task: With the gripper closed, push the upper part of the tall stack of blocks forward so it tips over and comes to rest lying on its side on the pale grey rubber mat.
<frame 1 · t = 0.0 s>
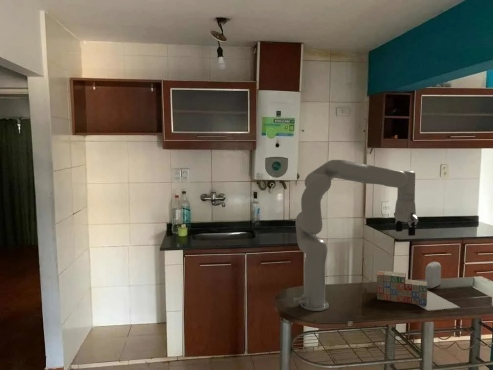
hand: (405, 233, 177), 31 cm above the table, tool pointing down, fingers open, 9 cm apart
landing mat: (424, 298, 178), on the table
stack of blocks: (401, 300, 175), on the table, touching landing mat
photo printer: (432, 286, 195), on the table
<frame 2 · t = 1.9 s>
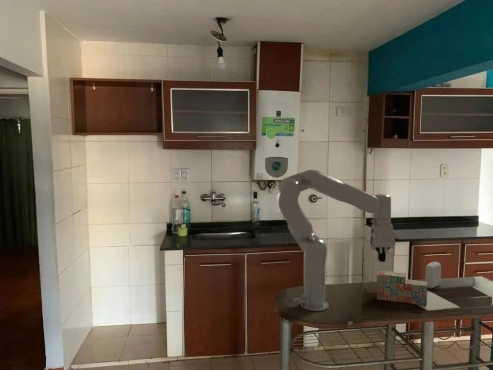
hand: (381, 261, 172), 20 cm above the table, tool pointing down, fingers closed
nothing on the table moved.
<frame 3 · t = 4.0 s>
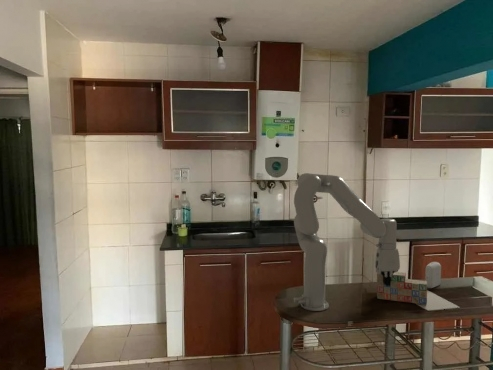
hand: (386, 284, 173), 8 cm above the table, tool pointing down, fingers closed
stack of blocks: (401, 300, 175), on the table, touching gripper, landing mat
everything else where it was.
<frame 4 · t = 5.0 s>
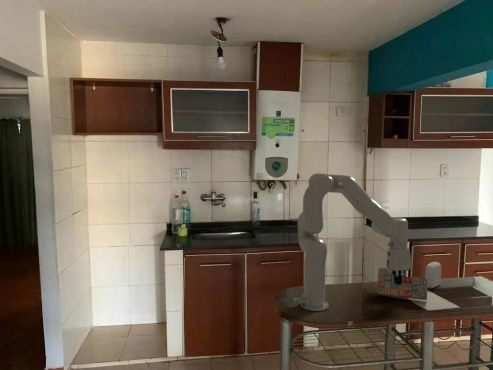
hand: (397, 283, 174), 8 cm above the table, tool pointing down, fingers closed
stack of blocks: (401, 297, 176), point 1 cm above the table, touching gripper, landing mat
everything else where it was.
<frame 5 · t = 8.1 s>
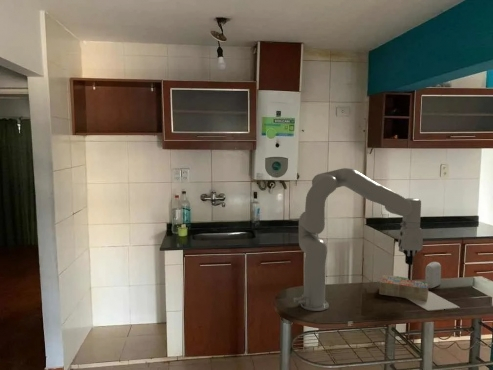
hand: (408, 263, 175), 17 cm above the table, tool pointing down, fingers closed
stack of blocks: (402, 291, 178), point 3 cm above the table, touching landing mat
everything else where it was.
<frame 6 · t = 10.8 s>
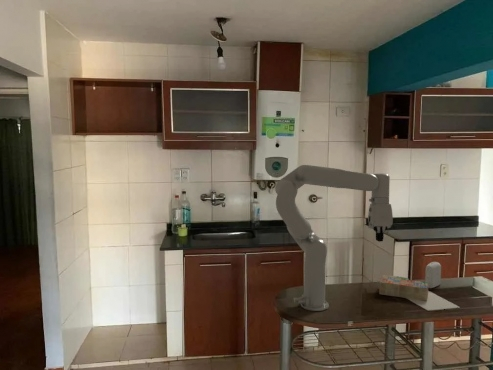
hand: (379, 240, 171), 29 cm above the table, tool pointing down, fingers closed
nothing on the table moved.
at the end: stack of blocks tilted 89°; stack of blocks inside the target area (3.9 cm from its centre), point 3.4 cm above the table; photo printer moved 0.3 cm from its start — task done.
